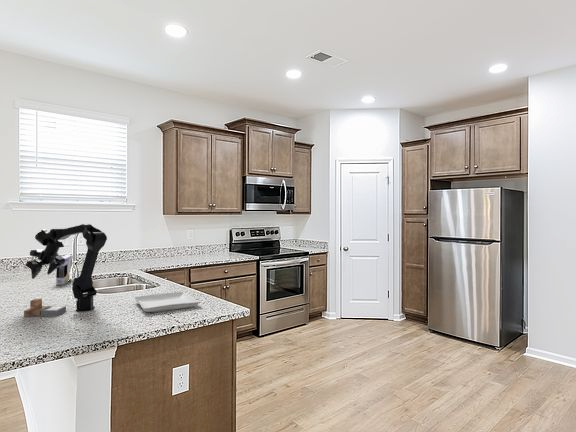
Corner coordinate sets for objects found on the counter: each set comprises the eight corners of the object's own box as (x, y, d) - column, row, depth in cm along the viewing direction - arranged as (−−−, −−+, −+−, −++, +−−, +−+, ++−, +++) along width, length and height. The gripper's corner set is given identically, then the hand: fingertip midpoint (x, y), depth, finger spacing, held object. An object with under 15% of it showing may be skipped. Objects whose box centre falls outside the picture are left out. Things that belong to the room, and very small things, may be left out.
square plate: (143, 316, 172) (143, 307, 172) (132, 303, 195) (132, 296, 195) (199, 308, 186) (199, 300, 186) (184, 297, 209) (184, 290, 209)
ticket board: (65, 311, 178) (65, 305, 178) (56, 316, 170) (56, 310, 170) (50, 311, 177) (50, 306, 177) (40, 316, 169) (40, 310, 169)
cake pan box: (63, 285, 240) (63, 258, 239) (54, 285, 238) (54, 258, 238) (73, 279, 258) (73, 254, 258) (65, 280, 257) (65, 254, 257)
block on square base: (49, 311, 177) (49, 297, 177) (40, 315, 169) (39, 301, 169) (34, 311, 176) (34, 297, 176) (23, 316, 169) (23, 301, 168)
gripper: (54, 240, 199) (43, 264, 201) (22, 245, 180) (11, 272, 183) (70, 250, 197) (59, 275, 200) (40, 257, 179) (29, 284, 181)
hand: (40, 276), depth 191 cm, fingers open, 9 cm apart
